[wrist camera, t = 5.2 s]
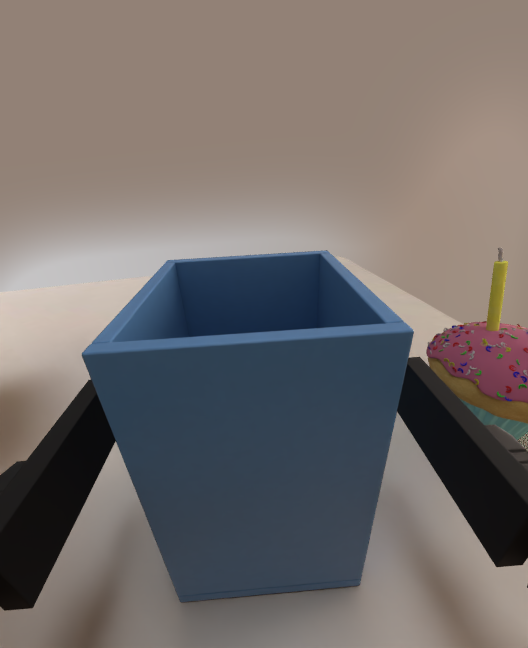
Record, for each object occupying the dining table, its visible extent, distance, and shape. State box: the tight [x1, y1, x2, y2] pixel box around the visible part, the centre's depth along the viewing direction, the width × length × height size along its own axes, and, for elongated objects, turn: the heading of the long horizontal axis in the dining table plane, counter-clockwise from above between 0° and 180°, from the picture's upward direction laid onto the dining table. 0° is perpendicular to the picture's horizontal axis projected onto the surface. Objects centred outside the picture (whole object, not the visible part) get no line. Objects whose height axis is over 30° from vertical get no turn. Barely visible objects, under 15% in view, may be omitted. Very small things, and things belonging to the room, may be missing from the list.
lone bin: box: [82, 250, 414, 602], centre depth 14 cm, size 8×8×13 cm
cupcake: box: [427, 248, 528, 440], centre depth 18 cm, size 9×8×12 cm
